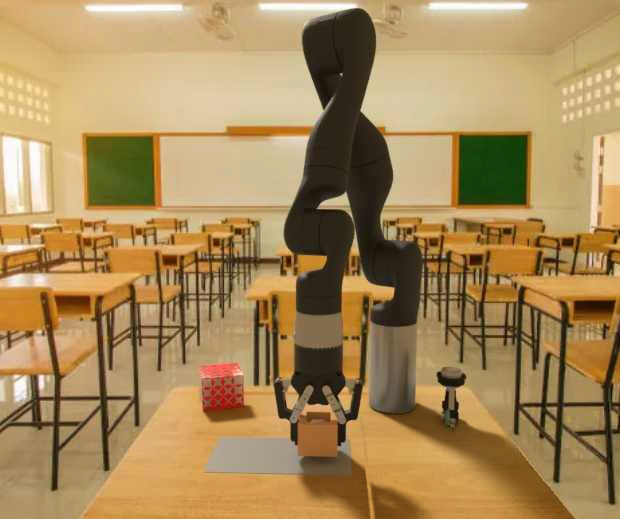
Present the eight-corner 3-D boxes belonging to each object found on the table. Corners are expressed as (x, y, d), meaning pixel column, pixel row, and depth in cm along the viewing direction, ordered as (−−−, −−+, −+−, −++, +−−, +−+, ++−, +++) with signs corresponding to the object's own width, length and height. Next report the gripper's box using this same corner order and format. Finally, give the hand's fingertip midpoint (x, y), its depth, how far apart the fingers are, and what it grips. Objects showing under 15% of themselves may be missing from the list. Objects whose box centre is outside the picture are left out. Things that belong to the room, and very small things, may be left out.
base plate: (219, 444, 95) (219, 436, 95) (349, 447, 94) (349, 439, 94) (203, 481, 83) (203, 471, 83) (351, 484, 82) (351, 475, 82)
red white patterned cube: (199, 403, 114) (198, 365, 113) (238, 399, 116) (237, 362, 115) (202, 418, 106) (201, 378, 105) (244, 414, 108) (243, 374, 107)
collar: (300, 438, 91) (300, 409, 90) (337, 439, 91) (337, 409, 90) (297, 455, 85) (297, 424, 84) (337, 456, 85) (337, 425, 84)
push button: (467, 431, 100) (469, 377, 99) (437, 429, 101) (438, 376, 100) (462, 416, 107) (464, 365, 106) (434, 414, 108) (435, 364, 106)
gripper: (364, 334, 89) (362, 434, 91) (274, 332, 90) (275, 432, 92) (367, 346, 82) (365, 456, 84) (269, 345, 82) (269, 453, 84)
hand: (318, 443), depth 88 cm, fingers closed on collar, 6 cm apart
